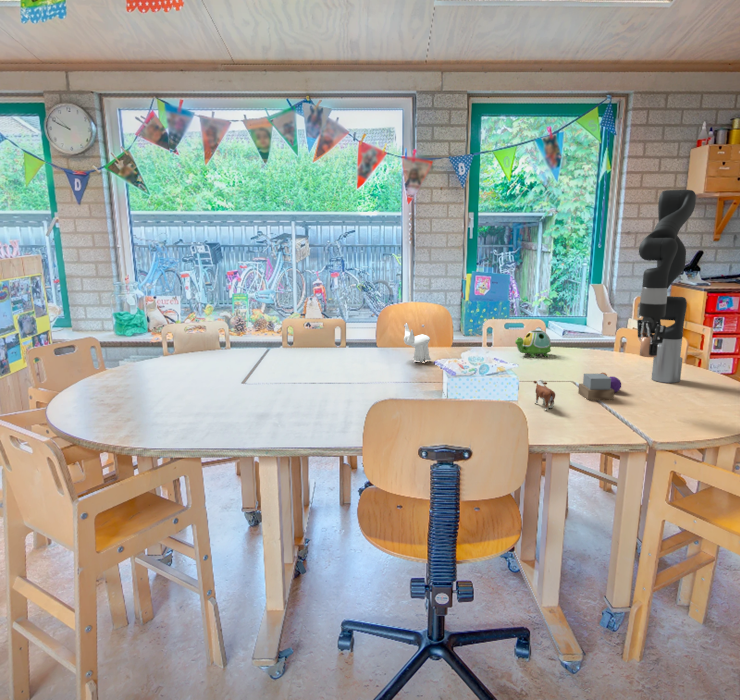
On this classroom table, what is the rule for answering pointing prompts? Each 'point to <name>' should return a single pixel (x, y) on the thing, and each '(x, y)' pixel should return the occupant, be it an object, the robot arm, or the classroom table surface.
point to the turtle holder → (534, 343)
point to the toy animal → (417, 344)
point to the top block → (597, 381)
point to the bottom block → (596, 393)
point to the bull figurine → (544, 393)
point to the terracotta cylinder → (645, 347)
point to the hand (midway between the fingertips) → (648, 353)
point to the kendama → (614, 383)
